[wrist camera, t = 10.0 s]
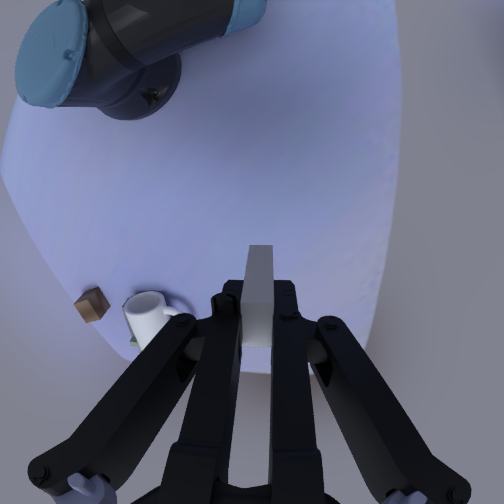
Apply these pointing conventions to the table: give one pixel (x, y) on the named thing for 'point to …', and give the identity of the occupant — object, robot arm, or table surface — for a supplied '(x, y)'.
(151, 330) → the mug
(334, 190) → the table surface
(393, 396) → the robot arm
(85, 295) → the walnut block
